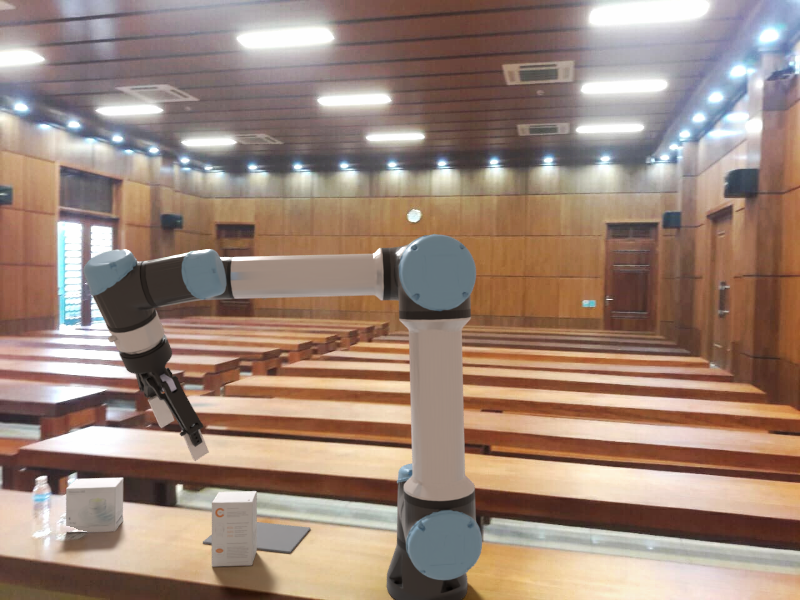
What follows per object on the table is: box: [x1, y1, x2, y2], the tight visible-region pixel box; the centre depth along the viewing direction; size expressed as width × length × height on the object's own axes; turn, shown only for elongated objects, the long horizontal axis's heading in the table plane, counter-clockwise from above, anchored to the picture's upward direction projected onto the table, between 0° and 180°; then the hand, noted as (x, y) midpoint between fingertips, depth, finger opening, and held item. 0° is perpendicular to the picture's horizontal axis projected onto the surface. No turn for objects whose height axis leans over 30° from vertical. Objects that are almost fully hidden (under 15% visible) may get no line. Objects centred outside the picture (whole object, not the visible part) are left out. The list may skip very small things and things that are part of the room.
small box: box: [211, 490, 258, 568], centre depth 119 cm, size 8×6×13 cm
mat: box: [202, 521, 311, 554], centre depth 130 cm, size 20×12×1 cm, turn 79°
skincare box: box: [65, 477, 124, 533], centre depth 133 cm, size 10×6×10 cm, turn 99°
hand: (183, 439), depth 105 cm, fingers open, 13 cm apart
